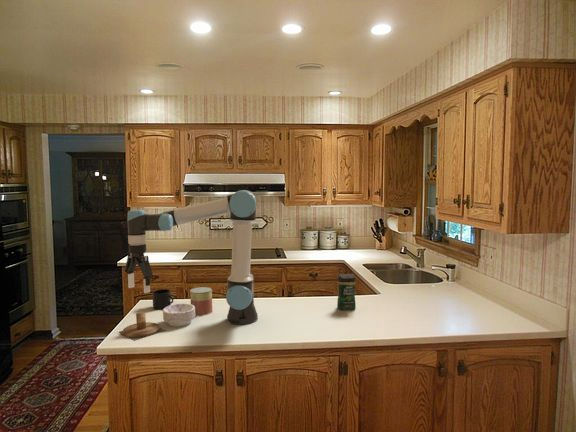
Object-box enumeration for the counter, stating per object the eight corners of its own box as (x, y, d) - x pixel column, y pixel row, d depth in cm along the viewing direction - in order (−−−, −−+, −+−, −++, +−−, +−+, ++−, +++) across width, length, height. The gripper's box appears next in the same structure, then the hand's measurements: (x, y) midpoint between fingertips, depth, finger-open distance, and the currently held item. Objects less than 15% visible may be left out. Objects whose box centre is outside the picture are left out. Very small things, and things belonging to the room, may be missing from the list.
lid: (166, 330, 193) (165, 312, 192) (134, 340, 181) (133, 321, 180) (147, 323, 203) (147, 306, 203) (116, 332, 191) (115, 314, 191)
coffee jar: (339, 311, 219) (339, 276, 217) (336, 306, 227) (335, 272, 225) (357, 310, 219) (357, 275, 218) (353, 305, 227) (353, 272, 226)
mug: (168, 311, 223) (168, 294, 223) (149, 309, 227) (148, 293, 226) (178, 305, 232) (177, 290, 232) (159, 304, 236) (158, 288, 235)
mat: (166, 331, 193) (166, 330, 193) (134, 341, 181) (134, 340, 181) (147, 323, 203) (147, 323, 203) (116, 333, 191) (116, 332, 191)
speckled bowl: (179, 331, 193) (178, 314, 192) (156, 325, 201) (156, 309, 200) (202, 321, 206) (201, 305, 205) (180, 316, 214) (179, 301, 213)
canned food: (209, 307, 228) (208, 286, 227) (215, 313, 218) (214, 291, 217) (188, 310, 223) (188, 288, 222) (193, 316, 213) (192, 293, 212)
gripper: (160, 245, 183) (161, 292, 185) (130, 240, 200) (132, 284, 201) (144, 247, 178) (146, 296, 180) (115, 242, 194) (117, 287, 196)
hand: (139, 290), depth 191 cm, fingers open, 13 cm apart
